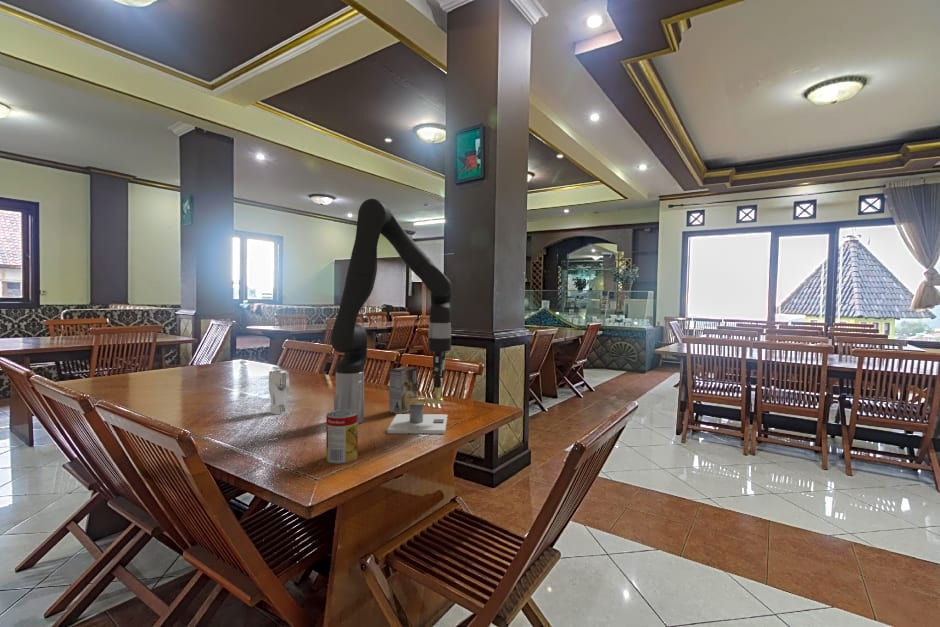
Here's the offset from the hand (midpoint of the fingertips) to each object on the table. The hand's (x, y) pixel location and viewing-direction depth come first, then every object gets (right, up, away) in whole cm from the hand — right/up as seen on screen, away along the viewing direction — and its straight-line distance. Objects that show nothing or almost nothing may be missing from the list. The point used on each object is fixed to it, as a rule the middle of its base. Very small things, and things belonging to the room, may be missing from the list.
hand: (438, 384), depth 144 cm
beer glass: (-60, -13, +15) cm, 63 cm away
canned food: (-24, -15, -29) cm, 40 cm away
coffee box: (-15, -13, +19) cm, 27 cm away
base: (-8, -14, +1) cm, 16 cm away
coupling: (-5, -6, 0) cm, 8 cm away
